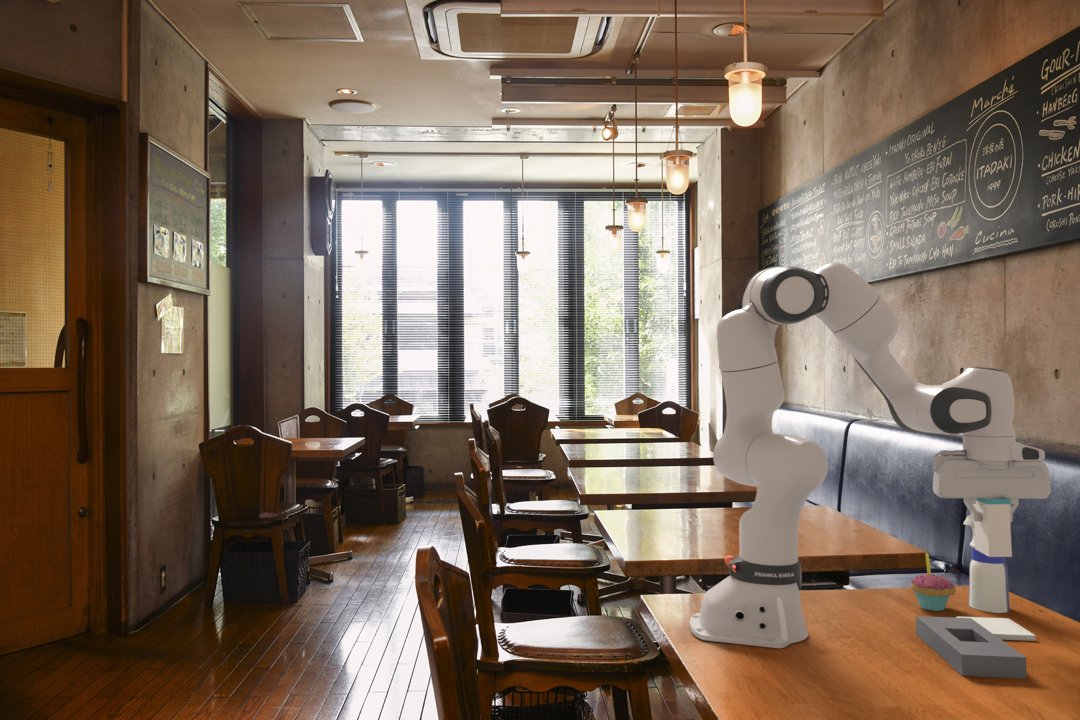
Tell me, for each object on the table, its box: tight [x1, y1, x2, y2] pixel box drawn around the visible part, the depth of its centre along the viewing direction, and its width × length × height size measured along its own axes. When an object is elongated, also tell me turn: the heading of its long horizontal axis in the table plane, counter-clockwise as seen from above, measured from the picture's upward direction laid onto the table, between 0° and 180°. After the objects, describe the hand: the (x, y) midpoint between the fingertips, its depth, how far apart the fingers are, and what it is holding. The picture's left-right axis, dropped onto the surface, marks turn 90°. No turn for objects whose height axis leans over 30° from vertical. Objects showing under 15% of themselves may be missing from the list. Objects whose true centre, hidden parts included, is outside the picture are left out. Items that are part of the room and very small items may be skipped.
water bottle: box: [962, 514, 1011, 614], centre depth 158 cm, size 8×8×25 cm
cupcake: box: [910, 549, 956, 612], centre depth 158 cm, size 9×8×12 cm
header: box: [915, 615, 1028, 680], centre depth 130 cm, size 10×20×4 cm, turn 172°
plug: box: [973, 498, 1013, 558], centre depth 141 cm, size 4×6×11 cm
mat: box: [955, 616, 1037, 642], centre depth 143 cm, size 10×10×1 cm
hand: (991, 521), depth 141 cm, fingers closed on plug, 4 cm apart
